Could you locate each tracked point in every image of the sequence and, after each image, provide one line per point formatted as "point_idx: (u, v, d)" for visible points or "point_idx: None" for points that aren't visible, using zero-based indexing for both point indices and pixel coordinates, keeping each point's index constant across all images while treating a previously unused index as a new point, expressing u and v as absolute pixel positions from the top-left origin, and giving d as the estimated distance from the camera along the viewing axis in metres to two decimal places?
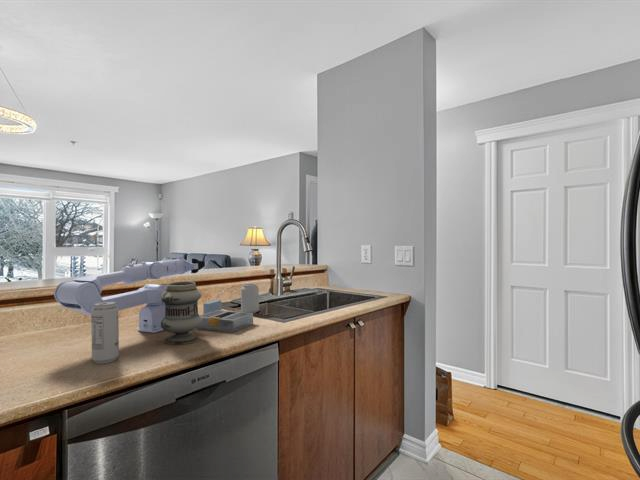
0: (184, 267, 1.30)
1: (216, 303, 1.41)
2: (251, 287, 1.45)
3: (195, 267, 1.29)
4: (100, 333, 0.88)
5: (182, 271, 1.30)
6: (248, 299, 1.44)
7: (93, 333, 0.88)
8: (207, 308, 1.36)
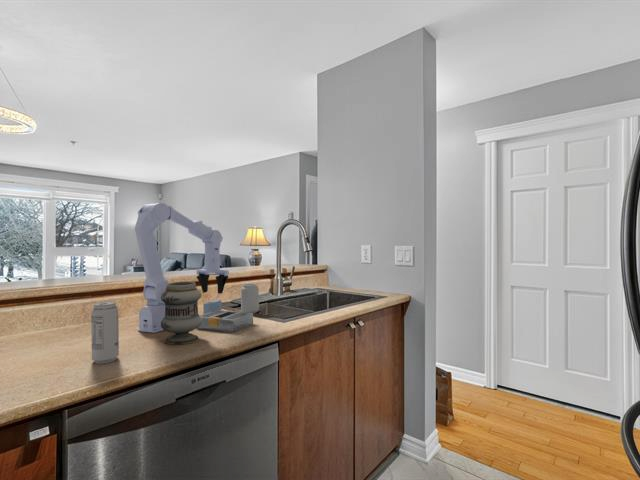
0: (217, 269, 1.39)
1: (216, 303, 1.41)
2: (251, 287, 1.45)
3: (226, 272, 1.37)
4: (100, 333, 0.88)
5: (213, 268, 1.38)
6: (248, 299, 1.44)
7: (93, 333, 0.88)
8: (207, 308, 1.36)
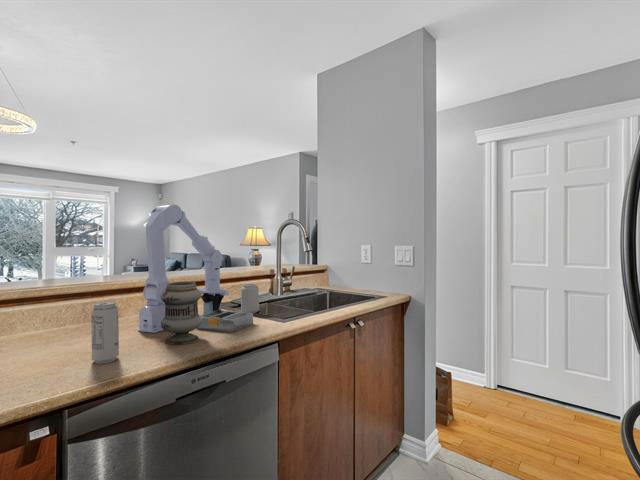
0: (217, 289, 1.39)
1: None
2: (251, 287, 1.45)
3: (226, 292, 1.37)
4: (100, 333, 0.88)
5: (214, 288, 1.38)
6: (248, 299, 1.44)
7: (93, 333, 0.88)
8: (207, 308, 1.36)
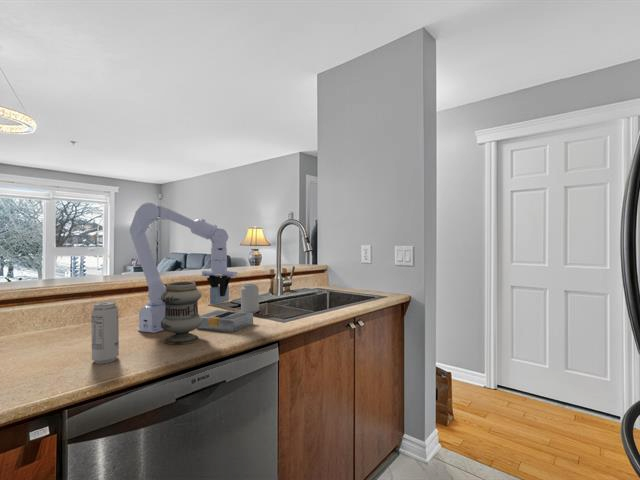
0: (224, 270, 1.30)
1: None
2: (251, 287, 1.45)
3: (234, 273, 1.28)
4: (100, 333, 0.88)
5: (220, 270, 1.29)
6: (248, 299, 1.44)
7: (93, 333, 0.88)
8: (214, 293, 1.28)
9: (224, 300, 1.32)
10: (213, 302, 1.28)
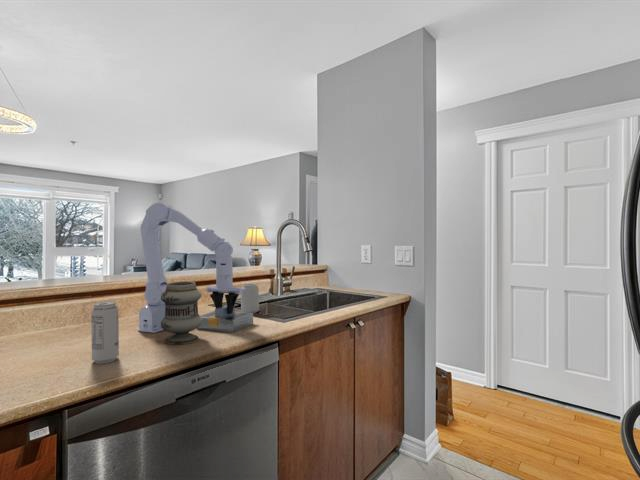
0: (230, 286, 1.24)
1: None
2: (251, 287, 1.45)
3: (240, 290, 1.22)
4: (100, 333, 0.88)
5: (226, 286, 1.23)
6: (248, 299, 1.44)
7: (93, 333, 0.88)
8: (219, 314, 1.21)
9: None
10: None
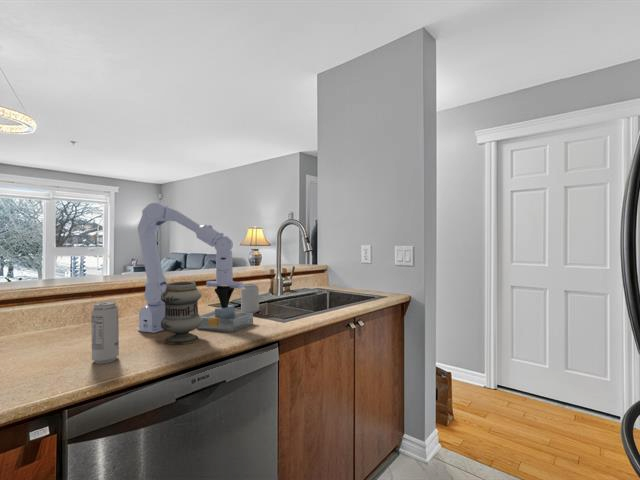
0: (230, 281, 1.24)
1: (229, 308, 1.26)
2: (251, 287, 1.45)
3: (240, 284, 1.22)
4: (100, 333, 0.88)
5: (226, 280, 1.23)
6: (248, 299, 1.44)
7: (93, 333, 0.88)
8: (219, 314, 1.21)
9: None
10: None
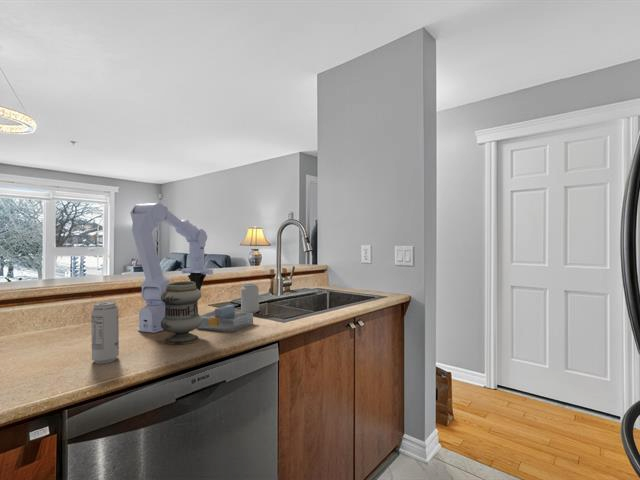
0: (202, 268, 1.40)
1: (229, 308, 1.26)
2: (251, 287, 1.45)
3: (210, 270, 1.38)
4: (100, 333, 0.88)
5: (198, 267, 1.39)
6: (248, 299, 1.44)
7: (93, 333, 0.88)
8: (219, 314, 1.21)
9: None
10: None
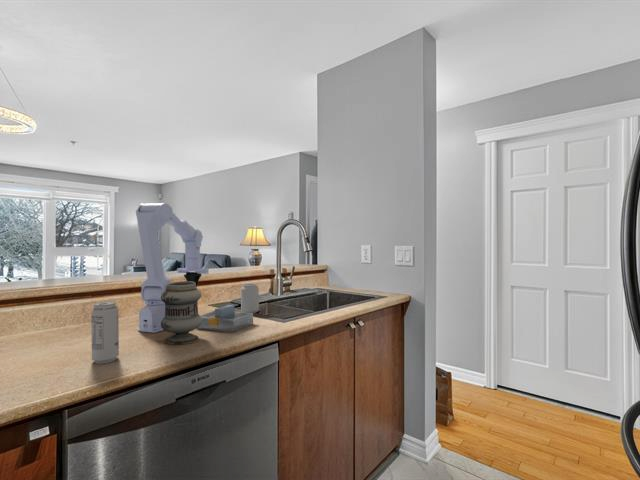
0: (197, 267, 1.43)
1: (229, 308, 1.26)
2: (251, 287, 1.45)
3: (206, 270, 1.41)
4: (100, 333, 0.88)
5: (193, 267, 1.41)
6: (248, 299, 1.44)
7: (93, 333, 0.88)
8: (219, 314, 1.21)
9: None
10: None
